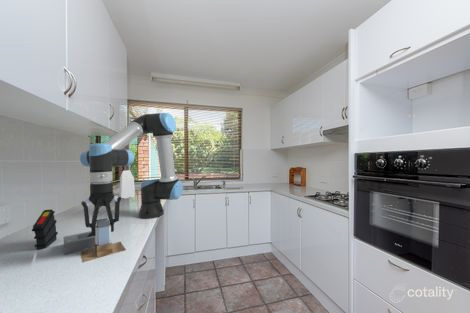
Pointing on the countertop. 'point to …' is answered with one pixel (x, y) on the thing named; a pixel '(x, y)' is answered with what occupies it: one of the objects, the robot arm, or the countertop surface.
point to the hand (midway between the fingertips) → (103, 241)
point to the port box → (78, 242)
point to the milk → (126, 185)
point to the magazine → (45, 229)
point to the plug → (103, 231)
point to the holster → (101, 251)
